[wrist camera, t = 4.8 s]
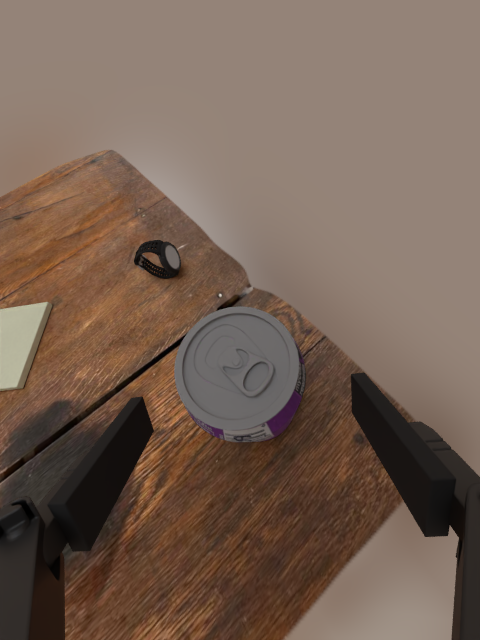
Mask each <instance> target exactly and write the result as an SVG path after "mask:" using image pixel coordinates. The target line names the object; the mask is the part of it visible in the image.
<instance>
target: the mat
mask: <svg viewBox="0 0 480 640" xmlns="http://www.w3.org/2000/svg"><path fill="white" fill-rule="evenodd" d="M51 308H52V304H50V303H49V302H45V303H38V304H32V305H25V306H19V307H12V308H6V309H0V391H4V390H13V389H22V388H23V387H24V385H25V382H26V379H27V376H28V373H29V370H30V368H31V365H32V362H33V359H34V356H35V353H36V351H37V348H38V345H39V342H40V339H41V337H42V334H43V331H44V328H45V325H46V322H47V320H48V317H49V314H50V311H51Z"/></svg>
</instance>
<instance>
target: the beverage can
mask: <svg viewBox="0 0 480 640" xmlns="http://www.w3.org/2000/svg"><path fill="white" fill-rule="evenodd" d="M174 373H175V383H176V387H177V391H178V393H179V396H180V398H181V400H182V402H183V403H184V405H185V407H186V409H187V411H188V413H189V415H190V416H191V417H192V419H193V420H194V421H195V422H196V423H197V424H198V425H199V426H200V427H201V428H202V429H203V430H205V431H206V432H208V433H209V434H211V435H213V436H215V437H217V438H220V439H223V440H227V441H232V442H260V441H267V440H270V439H272V438H274V437H276V436H278V435H279V434H281V433H282V432H283V431H284V430H285V429H286V428H287V427H288V425H289V424H290V422H291V421H292V419H293V417H294V415H295V413H296V411H297V409H298V406H299V404H300V402H301V399H302V396H303V393H304V389H305V381H306V373H305V364H304V360H303V356H302V354H301V351H300V349H299V347H298V345H297V343H296V342H295V340H294V339H293V338H292V336H291V334H290V333H289V331H288V330H287V329H286V327H285V326H284V325H283V324H282V323H281V322H280V321H279V320H277V319H276V318H275V317H273V316H272V315H270V314H268V313H266V312H264V311H262V310H259V309H255V308H250V307H230V308H225V309H221V310H218V311H216V312H213V313H211V314H209V315H207V316H206V317H204V318H203V319H201V320H200V321H199V322H198V323H196V324H195V325H194V326H193V327H192V328H191V330H190V331H189V332H188V333H187V335H186V336H185V338H184V339H183V341H182V343H181V345H180V347H179V350H178V353H177V356H176V361H175V370H174Z"/></svg>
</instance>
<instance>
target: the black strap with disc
mask: <svg viewBox="0 0 480 640" xmlns="http://www.w3.org/2000/svg"><path fill="white" fill-rule="evenodd" d="M148 248H149V250H148ZM152 248H153V249H152ZM145 252H152V253H155V254H157V255H158V256H159V259H160V262H161V264H162V266H163V267H164V268H161V267H159V266H156V265H155V264H153V263H151V262H150V261H149V260H148V259H147V258H146V257H145V256H144V255H142V253H145ZM141 256H142V257H141ZM142 260H143V261H142ZM147 262H148V263H147ZM134 263H135V265H137V266H138V267H139V268H140V269H141V270H144V269H145V270H146V271H148V272H149V273H150V274H152V275H154V276H156V277H159V278H164V279H167V278H171V277H174V276H176V275H178V273H179V269H180V267H181V260H180V256H179V253H178V251H177V249H176V248H175V246H174V245H172V244H171V243H169V242H163V241H161V240H154V241H148V242H145V243H143V244H142V245H141V246H140V247H139V249H138V251H137V252H136V256H135V259H134ZM142 263H143V264H142ZM149 263H150V264H149ZM139 264H140V265H139ZM148 264H149V265H148ZM150 265H152V266H154V267H153V268H152V266H150ZM146 266H147V267H146ZM154 268H156V269H154ZM157 268H158V270H157ZM160 269H161V271H159V270H160ZM152 270H153V272H152ZM162 270H163V272H162ZM154 271H155V273H154ZM167 271H168V272H167ZM156 272H157V273H158V274H156ZM164 272H165V273H164ZM159 273H160V275H159ZM161 274H162V276H161ZM164 274H165V276H164ZM169 274H170V276H169ZM171 274H172V275H171ZM166 275H167V276H166Z"/></svg>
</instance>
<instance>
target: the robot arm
mask: <svg viewBox="0 0 480 640" xmlns="http://www.w3.org/2000/svg"><path fill="white" fill-rule="evenodd" d="M351 391H352V413H353V415H354V417H355V418H356V420H357V422H358V424H359V425H360V427H361V429H362V430H363V432H364V434H365V435H366V437H367V439H368V441H369V442H370V444H371V446H372V447H373V449H374V451H375V452H376V454H377V456H378V458H379V459H380V461H381V463H382V464H383V466H384V468H385V469H386V471H387V473H388V475H389V476H390V478H391V480H392V481H393V483H394V485H395V486H396V488H397V490H398V492H399V493H400V495H401V497H402V498H403V500H404V502H405V503H406V505H407V507H408V509H409V510H410V512H411V514H412V515H413V517H414V519H415V520H416V522H417V524H418V526H419V527H420V529H421V531H422V532H423V534H424V536H425V537H435V536H448V532H449V525H450V526H451V527H452V528H453V530H454V531H455V533H456V534H457V536H458V537H459V542H458V547H457V553H456V558H457V568H456V582H455V597H454V612H453V626H452V640H480V477H479V476H478V475H477V474H476V473H475V472H474V471H473V470H472V469H471V468H470V466H468V465H467V464H466V462H465V461H464V460H463V459H462V458H461V457H460V456H459V455H458V454H457V453H456V452H455V451H454V450H452V449H451V447H450V446H449V445H448V444H447V443H446V442H445V441H443V439H442V438H441V437H440V436H439V435H438V434H437V433H436V432H435V431H434V430H433V429H432V428H430V427H429V426H427V425H425V424H424V423H422V422H410V423H408V422H407V421H406V420H405V419H404V418H403V416H402V415H401V414H400V413H399V412H398V411H397V410H396V408H395V407H394V406H393V405H392V404H391V403H390V401H389V400H388V399H387V398H386V397H385V396H384V395H383V393H382V392H381V391H380V390H379V389H378V388H377V386H376V385H375V384H374V383H373V382H372V381H371V380H370V378H369V377H368V376H367V375H366V374H365V373H357V374H351ZM153 432H154V430H153V427H152V424H151V421H150V418H149V415H148V412H147V409H146V406H145V403H144V399H143V397H136V398H131V399H130V401H129V402H128V403H127V404H126V406H125V407H124V408H123V409H122V411H121V412H120V413H119V414H118V416H117V417H116V418H115V419H114V421H113V422H112V423H111V424H110V426H109V427H108V428H107V429H106V431H105V432H104V433H103V435H102V436H101V437H100V438H99V440H98V441H97V442H96V443H95V445H94V446H93V447H92V448H91V450H90V451H86V452H84V453H83V454H82V455H81V456H80V457H78V458H77V459H76V460H75V461H74V462H73V463H72V465H71V466H70V467H69V468H68V469H67V472H65V473H64V474H63V475H62V477H61V479H60V480H58V482H57V483H56V484H55V485H54V486H53V488H52V489H51V490H50V491H49V492H48V494H47V495H46V496H45V497H44V498H43V500H42V501H41V502H40V503H39V505H38V506H37V507H35V505H34V503H33V501H32V500H31V498H30V497H27V496H24V497H19V498H17V499H15V500H13V501H11V502H9V503H8V504H6V505H5V506H3V507H2V508H1V509H0V640H65V593H64V556H63V553H62V551H63V549H64V547H65V546H66V544H67V543H69V545H70V547H71V549H72V551H73V552H74V551H90V550H91V548H92V546H93V544H94V542H95V540H96V538H97V537H98V535H99V533H100V531H101V529H102V527H103V525H104V523H105V522H106V520H107V518H108V516H109V514H110V512H111V510H112V508H113V507H114V505H115V503H116V501H117V499H118V497H119V495H120V493H121V492H122V490H123V488H124V486H125V484H126V482H127V480H128V478H129V477H130V475H131V473H132V471H133V469H134V467H135V465H136V463H137V462H138V460H139V458H140V456H141V454H142V452H143V450H144V448H145V447H146V445H147V443H148V441H149V439H150V437H151V435H152V433H153Z"/></svg>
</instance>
